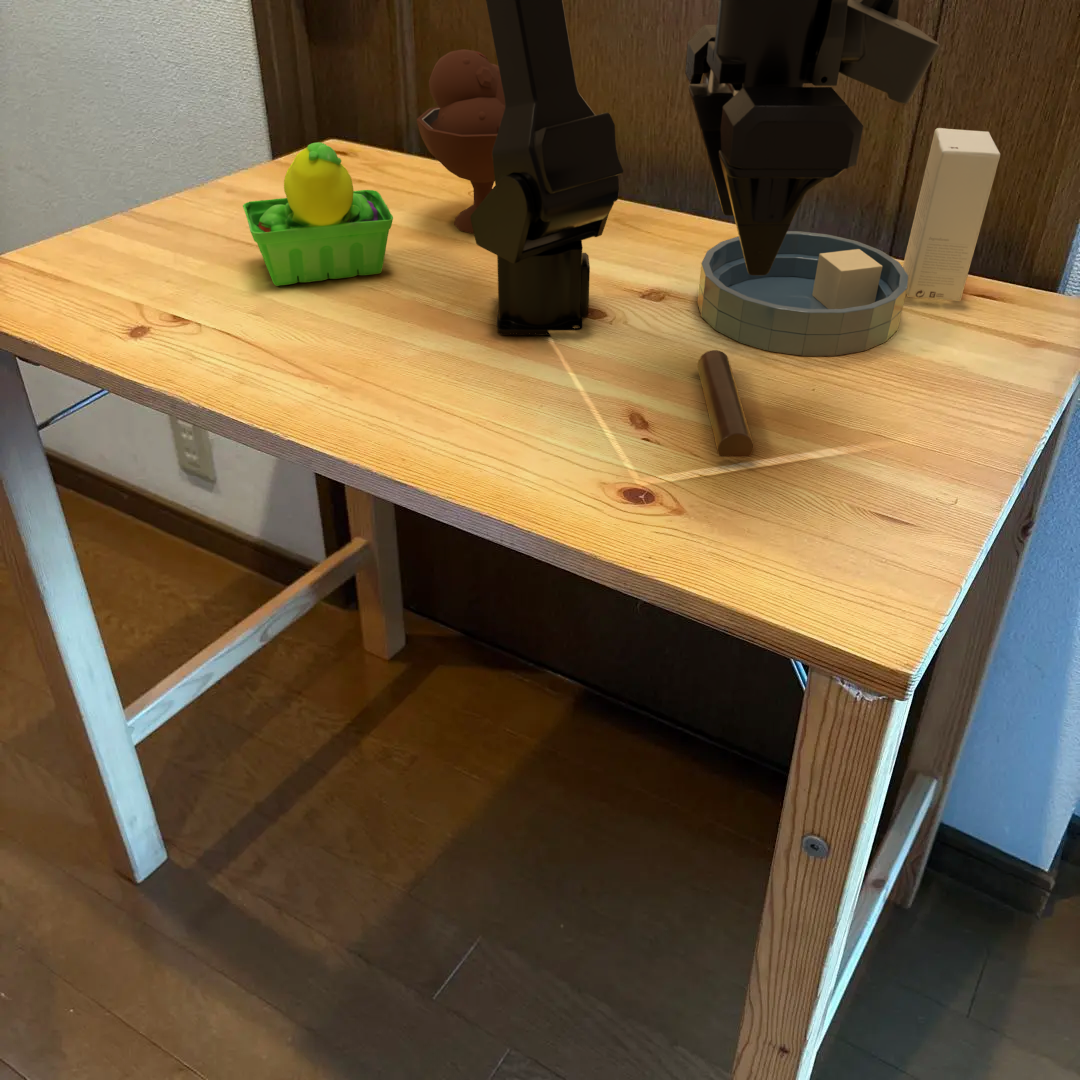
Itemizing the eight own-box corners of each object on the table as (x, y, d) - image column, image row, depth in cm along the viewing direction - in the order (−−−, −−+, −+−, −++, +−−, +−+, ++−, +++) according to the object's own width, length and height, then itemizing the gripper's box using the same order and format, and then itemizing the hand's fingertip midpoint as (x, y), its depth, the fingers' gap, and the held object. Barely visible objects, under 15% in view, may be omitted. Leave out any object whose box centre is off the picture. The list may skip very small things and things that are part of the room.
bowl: (712, 363, 75) (718, 312, 72) (686, 277, 87) (691, 231, 84) (922, 363, 75) (935, 312, 72) (867, 277, 87) (877, 230, 84)
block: (833, 314, 80) (841, 270, 78) (811, 295, 83) (819, 253, 80) (873, 308, 81) (882, 265, 78) (851, 290, 83) (859, 248, 81)
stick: (716, 436, 63) (695, 352, 72) (719, 466, 64) (698, 380, 73) (752, 431, 63) (727, 347, 72) (754, 460, 64) (730, 374, 73)
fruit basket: (381, 244, 92) (369, 112, 85) (403, 283, 86) (391, 143, 79) (251, 260, 89) (227, 124, 83) (263, 301, 83) (238, 158, 76)
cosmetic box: (960, 308, 82) (1002, 154, 75) (905, 303, 83) (941, 150, 75) (952, 277, 87) (990, 129, 80) (899, 273, 87) (933, 126, 80)
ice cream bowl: (502, 254, 90) (498, 71, 81) (401, 229, 95) (386, 53, 86) (564, 217, 98) (567, 44, 88) (467, 195, 102) (460, 29, 93)
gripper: (1010, -25, 45) (927, 310, 54) (890, -83, 59) (841, 188, 69) (752, -25, 45) (714, 311, 54) (696, -83, 59) (674, 189, 69)
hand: (744, 242), depth 61 cm, fingers open, 9 cm apart
